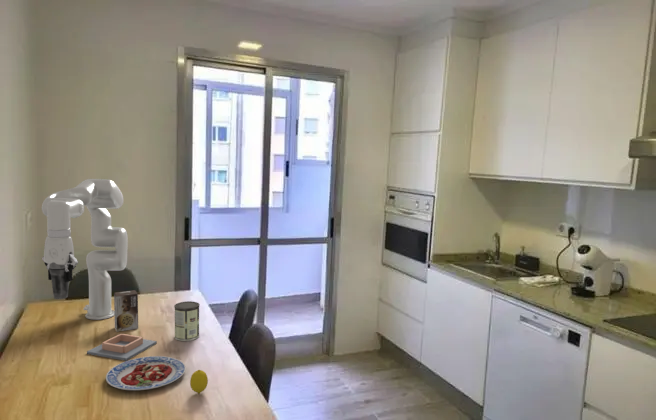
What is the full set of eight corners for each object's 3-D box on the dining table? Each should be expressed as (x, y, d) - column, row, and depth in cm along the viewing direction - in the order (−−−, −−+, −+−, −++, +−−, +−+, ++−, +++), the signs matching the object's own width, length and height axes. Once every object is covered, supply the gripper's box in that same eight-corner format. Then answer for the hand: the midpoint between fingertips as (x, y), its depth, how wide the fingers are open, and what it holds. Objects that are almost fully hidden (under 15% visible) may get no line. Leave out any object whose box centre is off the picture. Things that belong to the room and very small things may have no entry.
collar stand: (86, 353, 178) (86, 345, 178) (119, 337, 195) (119, 329, 195) (126, 360, 173) (126, 351, 173) (156, 343, 191) (156, 335, 190)
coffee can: (184, 330, 206) (184, 300, 204) (203, 334, 202) (204, 303, 201) (168, 338, 196) (169, 306, 195) (189, 342, 193) (189, 309, 191)
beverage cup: (76, 295, 179) (74, 244, 177) (63, 300, 172) (62, 247, 170) (58, 293, 180) (57, 243, 178) (45, 299, 173) (43, 246, 170)
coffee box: (135, 324, 212) (135, 289, 210) (138, 328, 206) (138, 293, 204) (114, 327, 207) (113, 292, 205) (116, 332, 201) (115, 295, 200)
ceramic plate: (127, 360, 175) (127, 352, 175) (195, 363, 174) (195, 355, 174) (90, 393, 149) (90, 384, 149) (169, 397, 148) (169, 389, 148)
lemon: (192, 389, 154) (192, 366, 153) (209, 389, 155) (209, 366, 154) (188, 397, 149) (188, 373, 148) (206, 397, 149) (206, 373, 148)
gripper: (32, 233, 172) (33, 280, 174) (70, 237, 167) (71, 285, 169) (49, 230, 179) (50, 275, 181) (86, 234, 174) (86, 280, 176)
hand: (60, 279), depth 175 cm, fingers closed on beverage cup, 6 cm apart
